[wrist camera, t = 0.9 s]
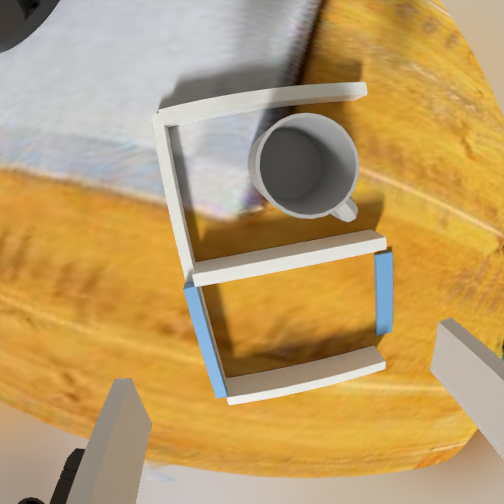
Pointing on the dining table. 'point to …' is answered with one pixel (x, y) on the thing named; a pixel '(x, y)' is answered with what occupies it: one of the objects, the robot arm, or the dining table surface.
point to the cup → (306, 167)
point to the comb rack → (269, 254)
